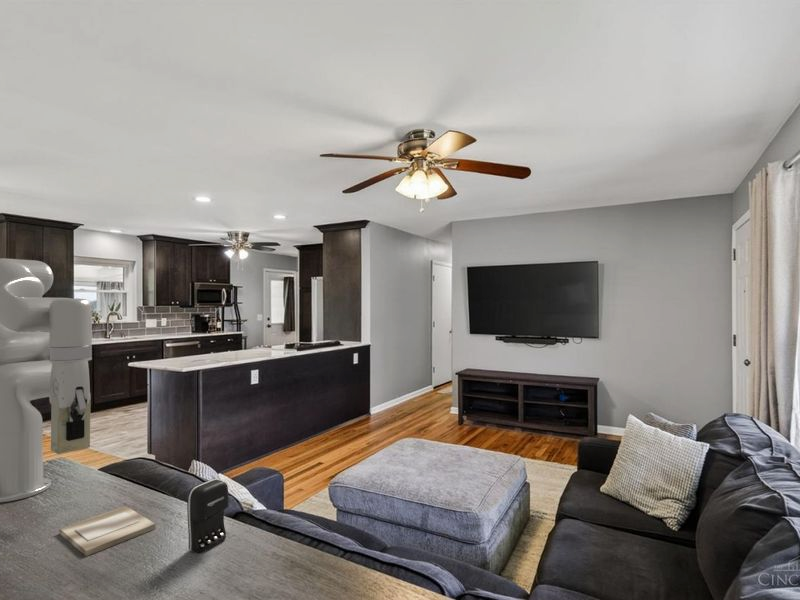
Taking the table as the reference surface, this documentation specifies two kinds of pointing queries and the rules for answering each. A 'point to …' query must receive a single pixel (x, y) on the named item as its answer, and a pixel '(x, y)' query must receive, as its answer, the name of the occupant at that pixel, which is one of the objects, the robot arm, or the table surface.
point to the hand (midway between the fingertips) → (71, 436)
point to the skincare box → (59, 429)
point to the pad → (106, 530)
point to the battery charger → (207, 514)
